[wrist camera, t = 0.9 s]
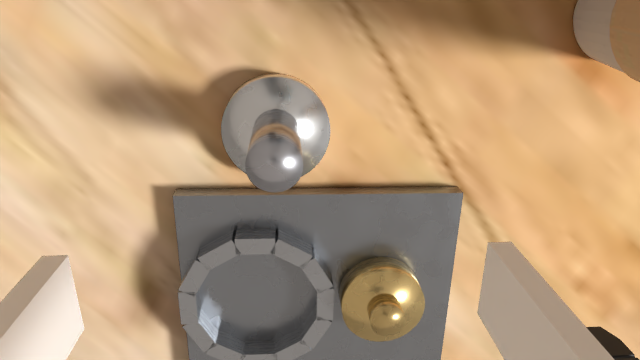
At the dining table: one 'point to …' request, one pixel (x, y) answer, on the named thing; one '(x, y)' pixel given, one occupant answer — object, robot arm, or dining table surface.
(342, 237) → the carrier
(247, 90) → the silver round-based piece
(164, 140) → the dining table surface
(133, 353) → the dining table surface
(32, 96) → the dining table surface
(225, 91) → the dining table surface
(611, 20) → the coffee cup
